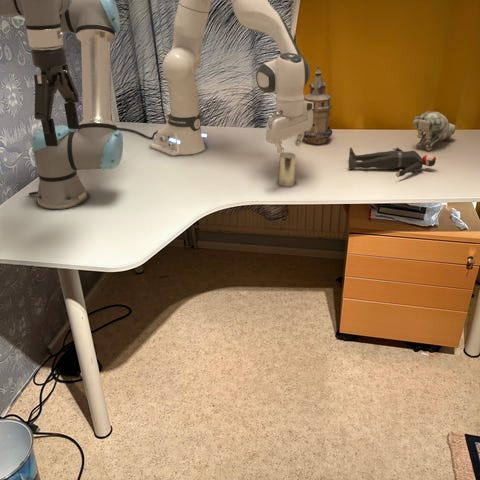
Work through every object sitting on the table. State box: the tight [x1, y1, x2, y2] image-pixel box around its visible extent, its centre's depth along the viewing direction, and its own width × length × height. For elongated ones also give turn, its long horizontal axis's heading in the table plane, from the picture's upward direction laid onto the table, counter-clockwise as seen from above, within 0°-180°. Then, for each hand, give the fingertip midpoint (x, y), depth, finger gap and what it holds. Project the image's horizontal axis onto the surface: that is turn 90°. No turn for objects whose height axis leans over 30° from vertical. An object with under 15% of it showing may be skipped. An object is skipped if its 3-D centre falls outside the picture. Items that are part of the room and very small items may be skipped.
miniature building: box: [302, 65, 333, 145], centre depth 213 cm, size 13×14×30 cm
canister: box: [278, 151, 296, 187], centre depth 180 cm, size 5×5×10 cm
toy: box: [348, 146, 437, 178], centre depth 192 cm, size 26×6×30 cm
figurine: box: [412, 111, 456, 152], centre depth 210 cm, size 10×19×20 cm
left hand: (63, 136), depth 134 cm, fingers open, 13 cm apart
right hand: (289, 149), depth 177 cm, fingers open, 8 cm apart
